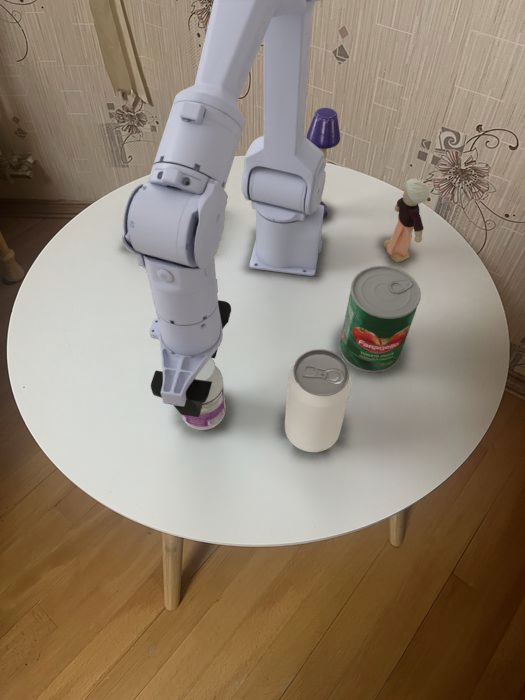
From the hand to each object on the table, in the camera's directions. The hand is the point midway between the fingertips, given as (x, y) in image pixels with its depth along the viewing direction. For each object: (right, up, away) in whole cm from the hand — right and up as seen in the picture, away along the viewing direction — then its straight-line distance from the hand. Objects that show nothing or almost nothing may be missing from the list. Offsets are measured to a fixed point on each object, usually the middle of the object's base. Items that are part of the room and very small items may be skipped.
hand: (198, 382), depth 62 cm
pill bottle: (0, -4, +5) cm, 7 cm away
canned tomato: (+21, +4, +11) cm, 24 cm away
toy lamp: (+15, +25, +27) cm, 40 cm away
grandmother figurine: (+27, +18, +21) cm, 39 cm away
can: (+13, -6, +4) cm, 15 cm away
